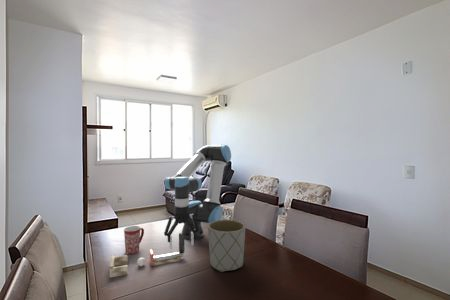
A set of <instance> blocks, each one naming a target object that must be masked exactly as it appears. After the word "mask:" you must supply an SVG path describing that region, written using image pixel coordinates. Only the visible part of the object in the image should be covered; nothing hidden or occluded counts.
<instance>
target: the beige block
mask: <svg viewBox="0 0 450 300" xmlns="http://www.w3.org/2000/svg"><path fill="white" fill-rule="evenodd" d="M109 263H110V264H109V278H115V277H116V278H117V277H120V276H126V275H128V254H125V255H119V256H115V255H114V254H113V255H111V256H110V261H109Z"/></svg>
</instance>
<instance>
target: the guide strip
mask: <svg viewBox="0 0 450 300" xmlns="http://www.w3.org/2000/svg"><path fill="white" fill-rule="evenodd" d="M154 256H157V255H154ZM181 260H182V257H181V254H179V255H177V258H172V259H167V260H161V261H157V258H156V259H153V266H159V265H164V264H169V263H173V262H180V261H181ZM153 266H152V267H153Z"/></svg>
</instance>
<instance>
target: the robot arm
mask: <svg viewBox="0 0 450 300" xmlns="http://www.w3.org/2000/svg"><path fill="white" fill-rule="evenodd" d="M231 158H232V151H231V149H230V146H229V145H227V144H207V145H204V146H202V147H201V148H199V149H198V150H196V151H195V152H194V154H193V156H192V157H191V159H189V161H187V162H186V163H185V164H184V165H183V166H182V167H181V168H180V169H179V170H178V171H177V172H176V173H175V174H174V175H173V176H168V177H166V178H165V180H164V182H163V183H164V187H165V189H167V190H170V191H174V214H173V215H172V216H171V215H169V216H168V220H167V224H166V226H165V229H164V232H163V234H164V236H165V237H167V243H169V249H170V250H172V249H173V236H172V234H173V233H174V231H175V229H176V228H177V226H178V225H179V224H180V225H181V224H183V226H182V229H181V232H180V233H185V240H190V244H191V245H192V246H194V241H195V240H198V239H202V238H203V237H204V236H205V235H204V233H205V232H204V228H203V226H202V223H203V224H204V223H205V224H208V225H209V224H210V223H212V222H214V221H219V220H222V217H223V213H224V211H223V207H222V206H221V202H220V194H221V190H222V184H223V183H222V182H223V175H224V170H225V167H226V166H227V165H228V163H229V162H230V161H231V160H232V159H231ZM205 162H210V164H211V168H210V175H209V181H208V188H207V191H206V192H207V193H206V198H205V199H204V200H203V202H202V201H201V200H191V201H190V194H191V193H193V192H194V193H195V192H197V191H200V189H202V186H203V184H202V183H203V182H202V181H201V179H200V178H198V177H193V178H190V177H191V176H192V175H193V174H194V173H195V171H196V170H197V169H198V168H199V167H200V166H201V165H203V164H205ZM173 221H174V222H173ZM172 222H173V224H172ZM171 224H172V225H171ZM170 227H171V228H170Z"/></svg>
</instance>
